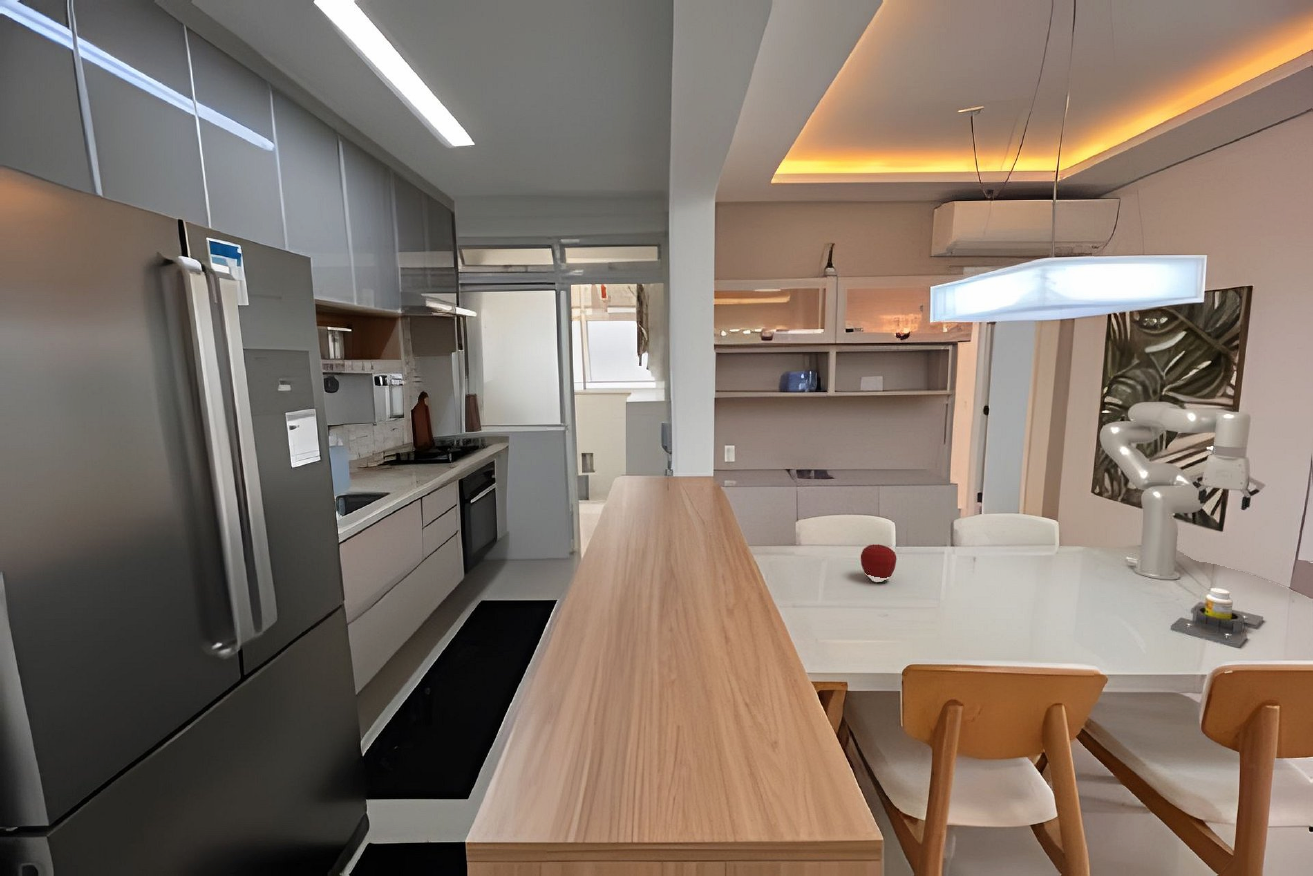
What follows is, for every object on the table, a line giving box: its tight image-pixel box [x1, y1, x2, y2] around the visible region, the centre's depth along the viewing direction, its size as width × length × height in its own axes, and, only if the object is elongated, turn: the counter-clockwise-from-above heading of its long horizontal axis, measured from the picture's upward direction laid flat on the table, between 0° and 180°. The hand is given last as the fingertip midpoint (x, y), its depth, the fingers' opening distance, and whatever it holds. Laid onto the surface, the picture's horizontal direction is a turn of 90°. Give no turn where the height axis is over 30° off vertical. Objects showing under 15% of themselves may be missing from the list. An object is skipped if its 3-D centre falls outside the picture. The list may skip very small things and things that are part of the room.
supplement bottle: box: [1204, 587, 1234, 619], centre depth 171 cm, size 6×6×10 cm
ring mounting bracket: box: [1170, 601, 1264, 649], centre depth 171 cm, size 28×14×4 cm, turn 126°
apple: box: [860, 543, 898, 578], centre depth 210 cm, size 12×12×13 cm
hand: (1222, 506), depth 187 cm, fingers open, 9 cm apart
